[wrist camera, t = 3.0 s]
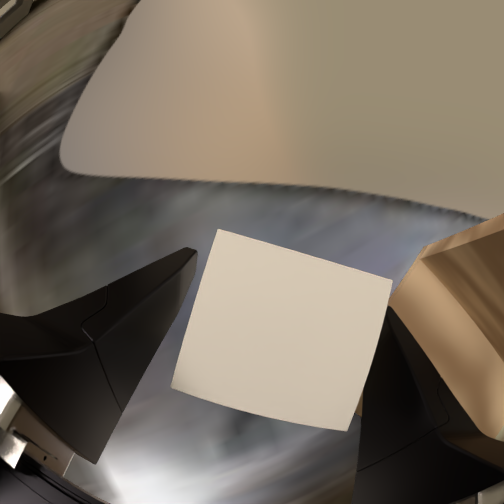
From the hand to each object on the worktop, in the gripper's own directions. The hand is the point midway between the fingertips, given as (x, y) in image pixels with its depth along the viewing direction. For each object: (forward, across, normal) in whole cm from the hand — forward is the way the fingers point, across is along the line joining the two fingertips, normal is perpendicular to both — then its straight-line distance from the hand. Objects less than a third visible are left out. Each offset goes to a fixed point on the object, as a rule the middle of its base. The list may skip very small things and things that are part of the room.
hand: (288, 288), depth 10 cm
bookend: (+4, 0, +6) cm, 7 cm away
